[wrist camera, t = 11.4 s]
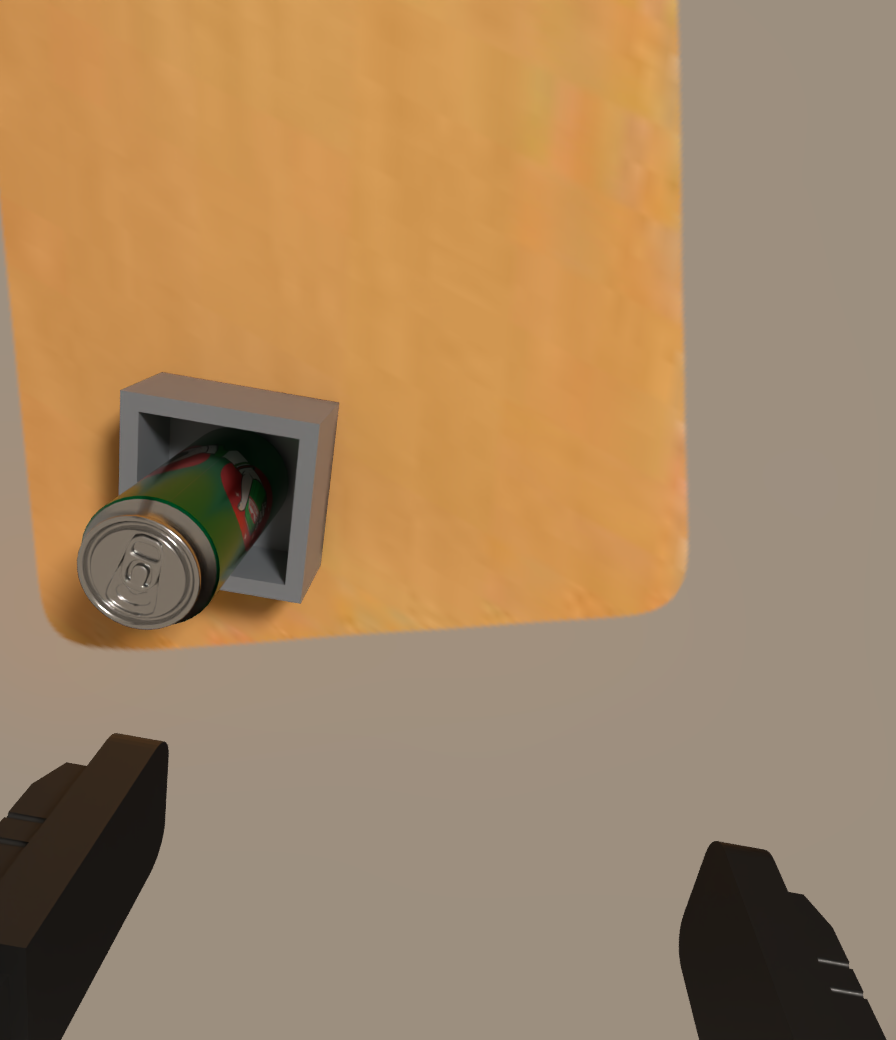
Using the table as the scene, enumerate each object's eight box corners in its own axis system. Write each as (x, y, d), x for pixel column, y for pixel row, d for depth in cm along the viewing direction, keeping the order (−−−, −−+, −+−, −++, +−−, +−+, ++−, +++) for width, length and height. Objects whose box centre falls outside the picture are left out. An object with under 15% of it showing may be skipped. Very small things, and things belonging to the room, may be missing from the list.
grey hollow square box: (161, 372, 38) (120, 390, 34) (339, 402, 38) (320, 424, 34) (156, 537, 41) (117, 572, 37) (320, 565, 41) (300, 603, 37)
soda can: (176, 500, 40) (50, 607, 28) (205, 407, 38) (84, 483, 27) (272, 538, 40) (186, 660, 29) (305, 449, 38) (227, 540, 27)
